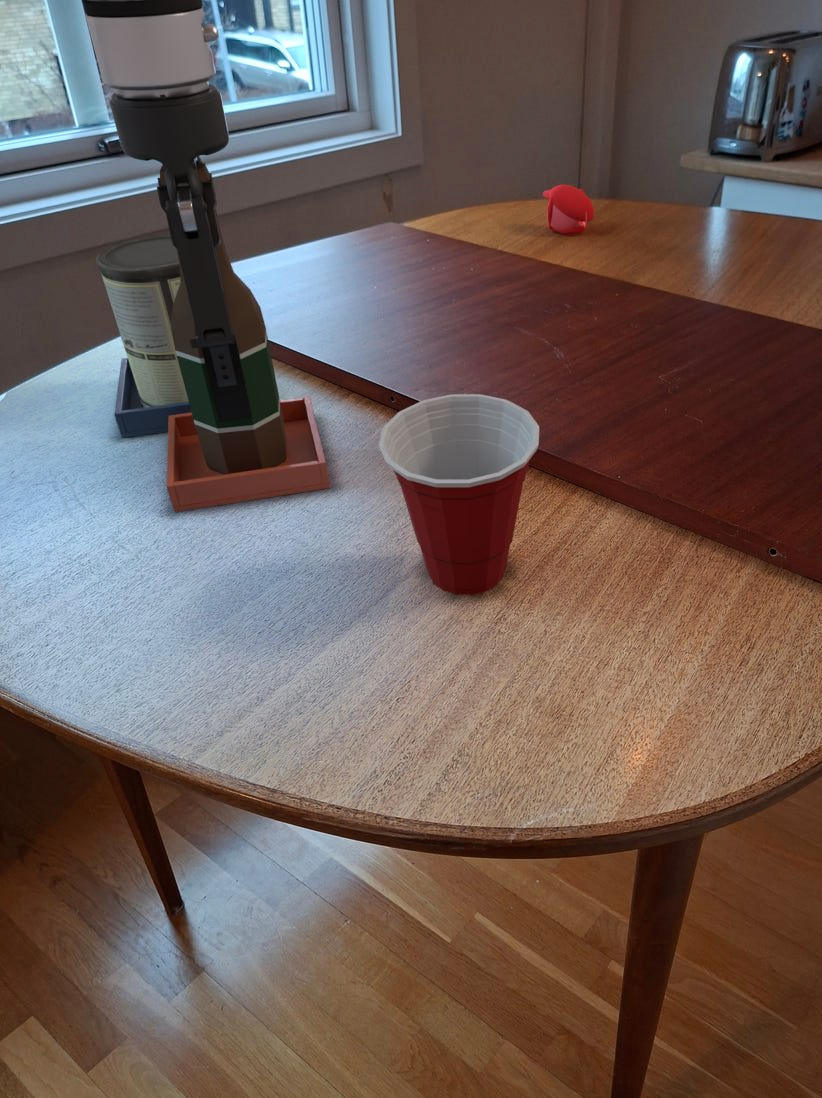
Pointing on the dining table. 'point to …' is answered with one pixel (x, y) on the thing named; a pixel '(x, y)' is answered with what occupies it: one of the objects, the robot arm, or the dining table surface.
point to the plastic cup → (462, 482)
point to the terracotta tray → (205, 487)
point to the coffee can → (146, 313)
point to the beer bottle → (265, 432)
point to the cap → (568, 209)
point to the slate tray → (140, 408)
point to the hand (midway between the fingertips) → (233, 394)
